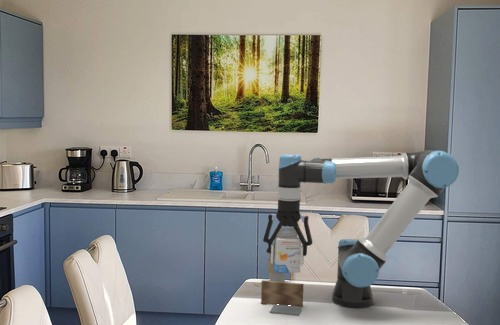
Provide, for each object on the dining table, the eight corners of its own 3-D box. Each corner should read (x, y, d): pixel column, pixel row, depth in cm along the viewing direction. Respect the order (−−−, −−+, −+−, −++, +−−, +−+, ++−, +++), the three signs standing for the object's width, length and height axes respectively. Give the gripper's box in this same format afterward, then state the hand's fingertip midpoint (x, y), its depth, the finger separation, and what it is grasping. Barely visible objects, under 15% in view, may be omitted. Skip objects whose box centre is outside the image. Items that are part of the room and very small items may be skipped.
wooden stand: (303, 304, 195) (303, 283, 194) (302, 308, 191) (302, 285, 191) (262, 300, 198) (263, 279, 198) (260, 304, 195) (261, 282, 194)
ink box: (276, 273, 184) (278, 230, 183) (273, 269, 189) (274, 227, 188) (300, 272, 186) (302, 230, 185) (296, 268, 191) (297, 227, 190)
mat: (301, 308, 191) (302, 306, 191) (298, 315, 183) (298, 314, 183) (274, 305, 193) (274, 304, 193) (269, 312, 186) (269, 311, 186)
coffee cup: (286, 287, 216) (287, 250, 215) (263, 285, 218) (264, 248, 217) (290, 280, 225) (290, 245, 224) (267, 279, 227) (268, 243, 226)
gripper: (322, 199, 187) (320, 263, 188) (259, 196, 192) (258, 258, 193) (320, 202, 180) (318, 268, 181) (255, 198, 185) (253, 263, 186)
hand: (287, 263), depth 187 cm, fingers closed on ink box, 9 cm apart
